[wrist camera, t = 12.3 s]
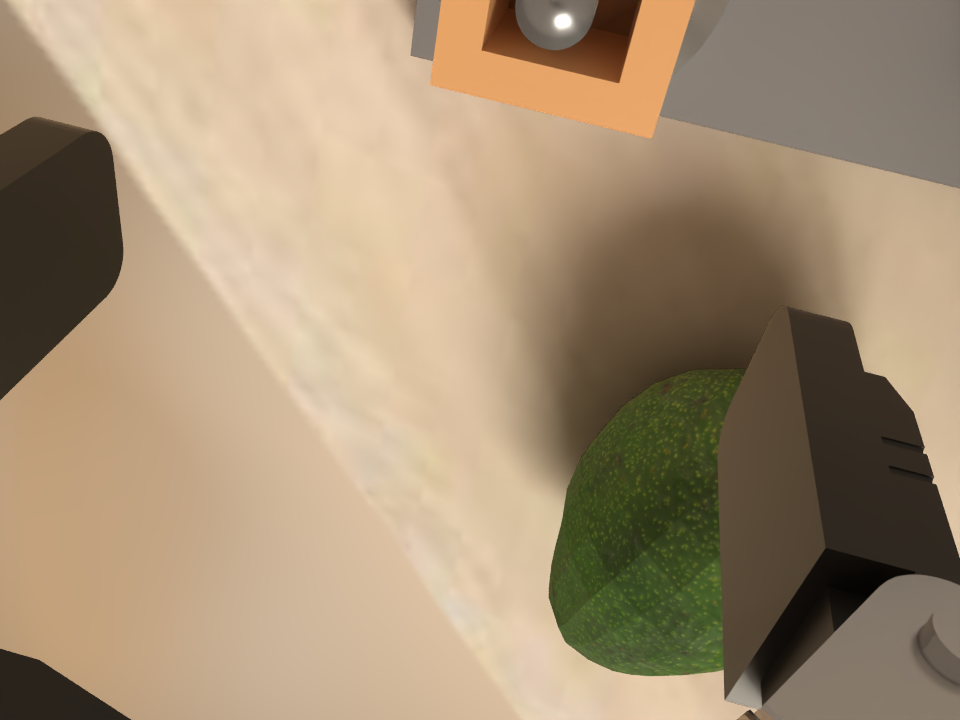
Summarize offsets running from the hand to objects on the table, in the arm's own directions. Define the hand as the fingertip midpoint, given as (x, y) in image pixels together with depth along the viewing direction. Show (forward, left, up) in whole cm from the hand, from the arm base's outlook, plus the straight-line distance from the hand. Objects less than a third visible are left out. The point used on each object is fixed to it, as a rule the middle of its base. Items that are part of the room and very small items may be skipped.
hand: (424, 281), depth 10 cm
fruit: (-18, +10, -19) cm, 28 cm away
